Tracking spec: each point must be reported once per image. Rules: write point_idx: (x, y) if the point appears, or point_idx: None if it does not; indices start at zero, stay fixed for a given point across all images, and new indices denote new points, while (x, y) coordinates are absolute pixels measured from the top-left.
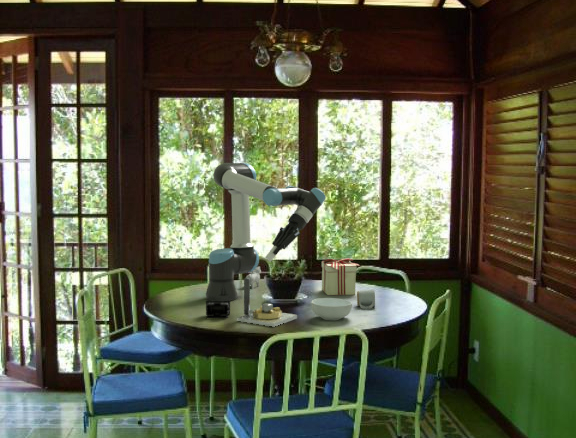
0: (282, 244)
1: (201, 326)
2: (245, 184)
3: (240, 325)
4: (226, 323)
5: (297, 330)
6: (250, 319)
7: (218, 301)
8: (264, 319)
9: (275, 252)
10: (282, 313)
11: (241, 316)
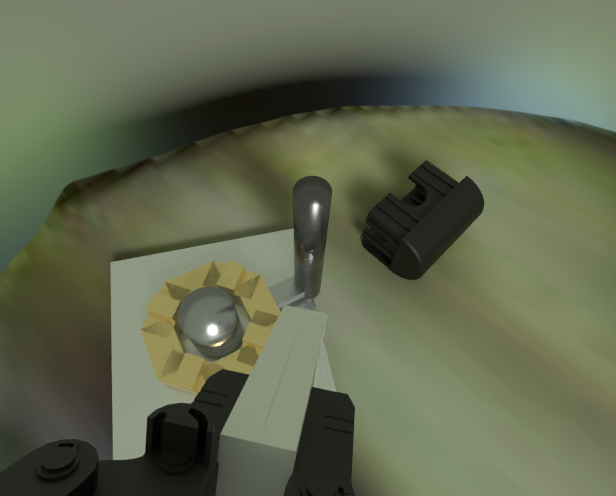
0: (11, 469)
1: (328, 126)
2: None
3: (240, 208)
4: None
5: (3, 295)
6: (234, 245)
7: (433, 208)
8: None
9: (207, 391)
10: None
11: None
